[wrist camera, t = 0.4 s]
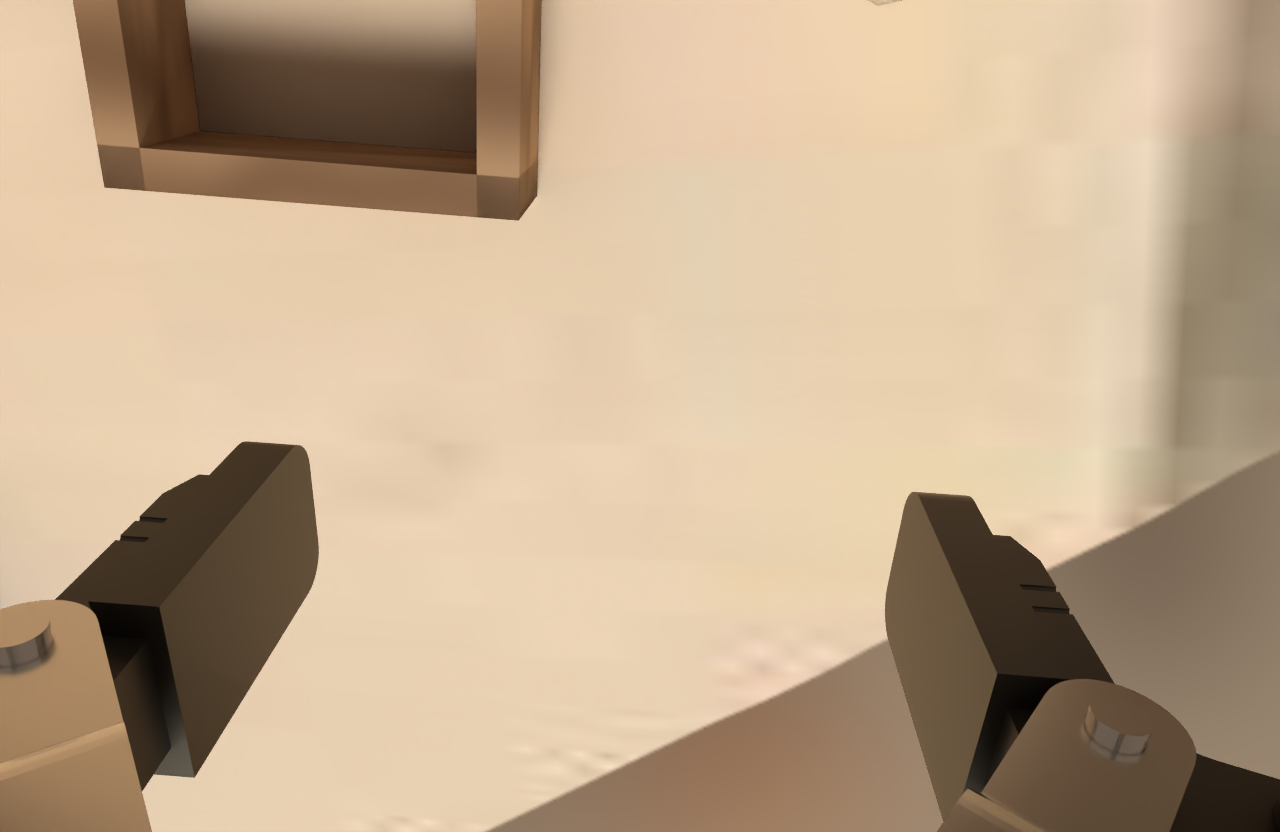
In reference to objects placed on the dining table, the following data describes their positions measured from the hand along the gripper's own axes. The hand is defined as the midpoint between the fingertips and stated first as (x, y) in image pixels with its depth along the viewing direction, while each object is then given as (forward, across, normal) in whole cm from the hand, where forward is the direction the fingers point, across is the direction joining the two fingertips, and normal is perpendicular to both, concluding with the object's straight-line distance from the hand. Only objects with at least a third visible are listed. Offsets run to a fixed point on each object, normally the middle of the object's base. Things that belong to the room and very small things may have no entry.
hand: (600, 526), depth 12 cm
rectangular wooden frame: (+27, +12, -3) cm, 30 cm away
